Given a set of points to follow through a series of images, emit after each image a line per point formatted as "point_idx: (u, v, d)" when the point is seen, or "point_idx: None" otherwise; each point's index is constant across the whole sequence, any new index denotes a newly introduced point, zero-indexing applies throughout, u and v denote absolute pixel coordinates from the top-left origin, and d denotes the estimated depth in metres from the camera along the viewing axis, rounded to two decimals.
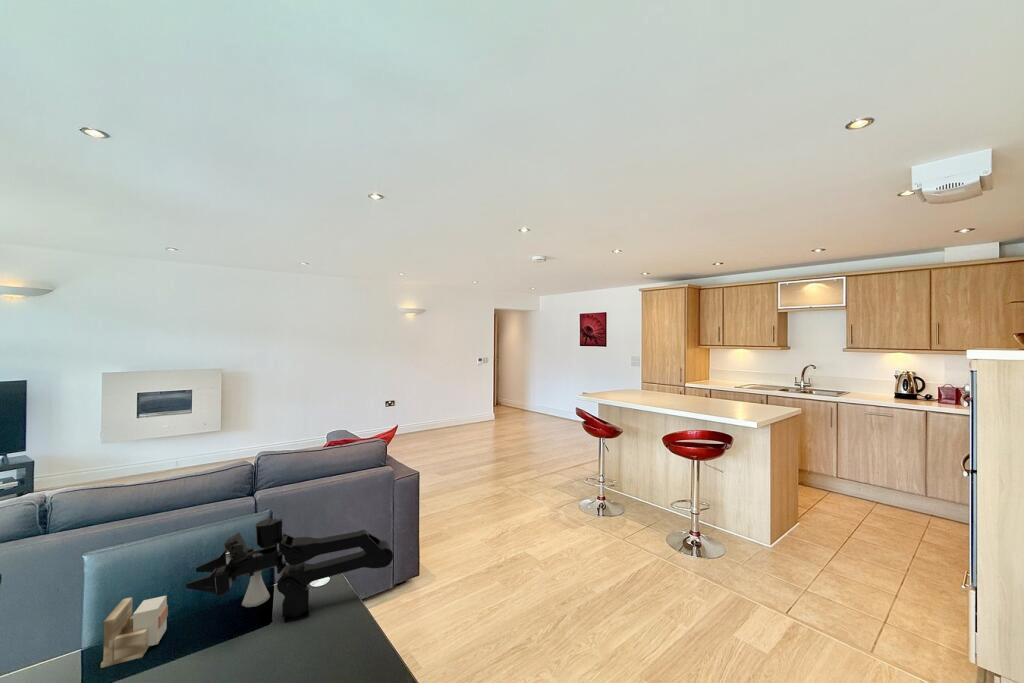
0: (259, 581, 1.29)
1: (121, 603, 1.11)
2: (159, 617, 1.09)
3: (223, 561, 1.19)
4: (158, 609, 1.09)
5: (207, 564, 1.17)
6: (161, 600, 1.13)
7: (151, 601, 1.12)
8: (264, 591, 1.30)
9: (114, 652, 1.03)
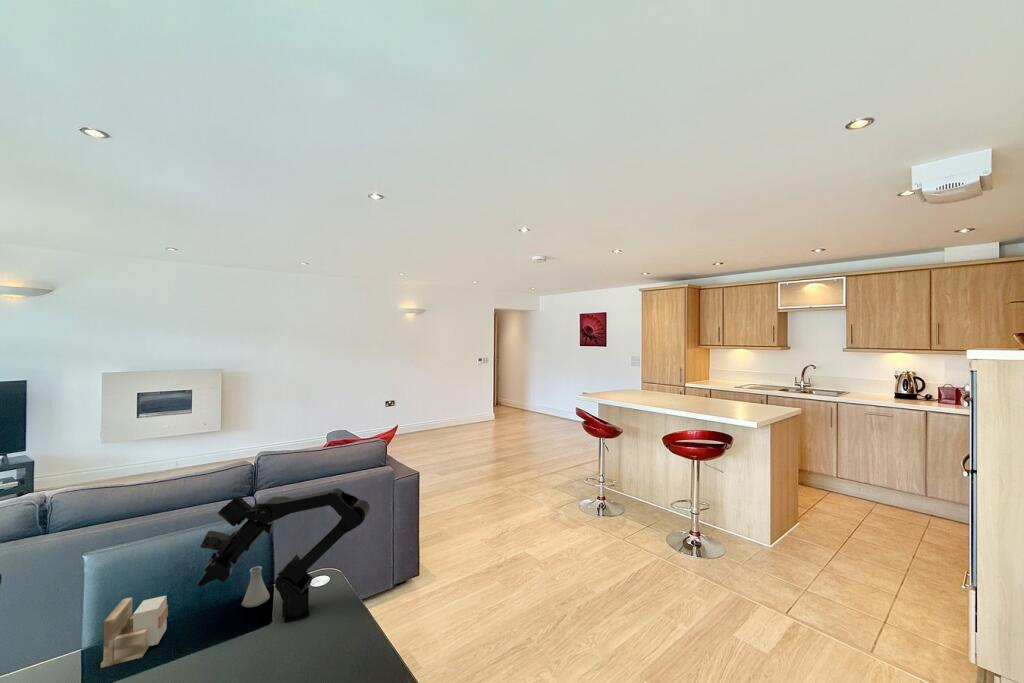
0: (259, 581, 1.29)
1: (121, 603, 1.11)
2: (159, 617, 1.09)
3: None
4: (158, 609, 1.09)
5: None
6: (161, 600, 1.13)
7: (151, 601, 1.12)
8: (264, 592, 1.30)
9: (114, 652, 1.03)
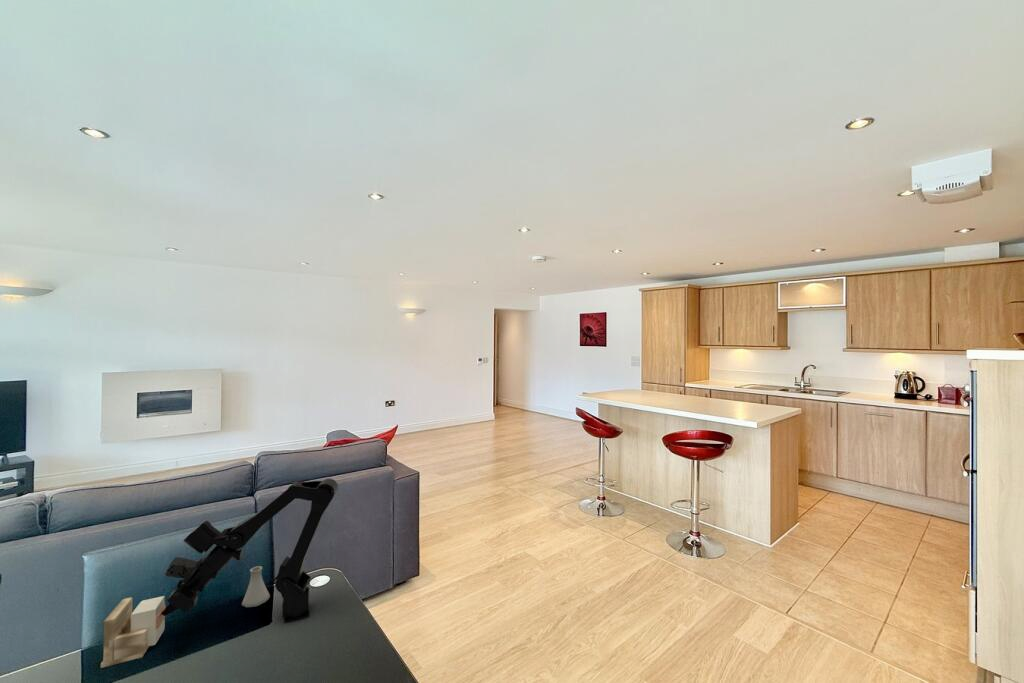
0: (259, 581, 1.29)
1: (121, 603, 1.11)
2: (157, 617, 1.09)
3: None
4: (156, 610, 1.09)
5: None
6: (159, 600, 1.12)
7: (149, 602, 1.12)
8: (264, 592, 1.30)
9: (114, 652, 1.03)
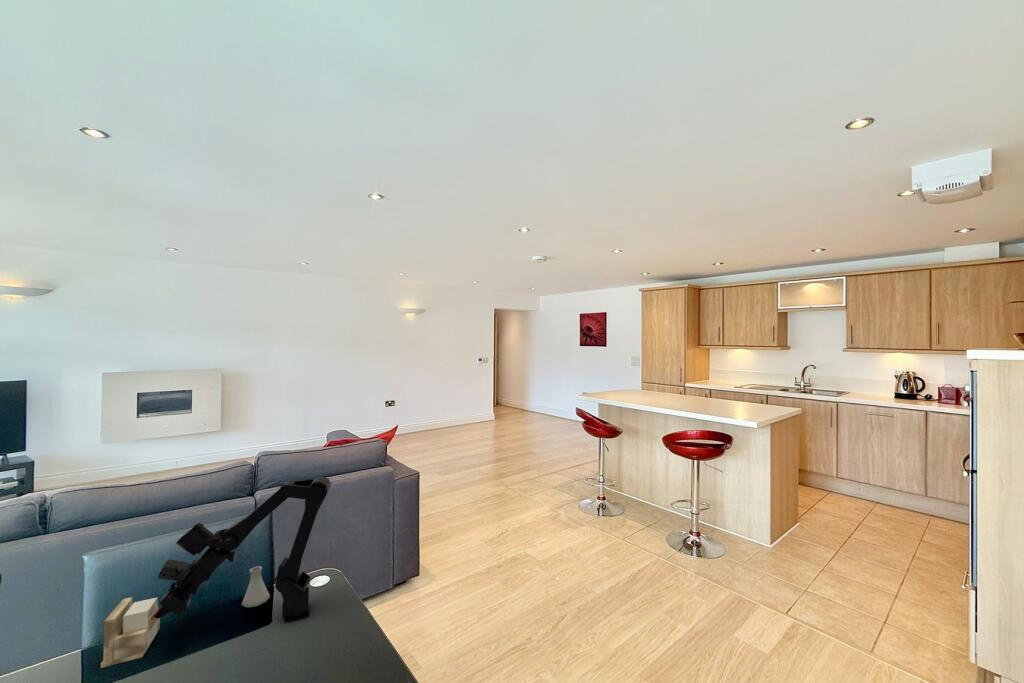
0: (259, 581, 1.29)
1: (121, 603, 1.11)
2: (149, 619, 1.08)
3: None
4: (148, 611, 1.08)
5: None
6: (152, 602, 1.12)
7: (141, 603, 1.11)
8: (264, 592, 1.30)
9: (114, 652, 1.03)
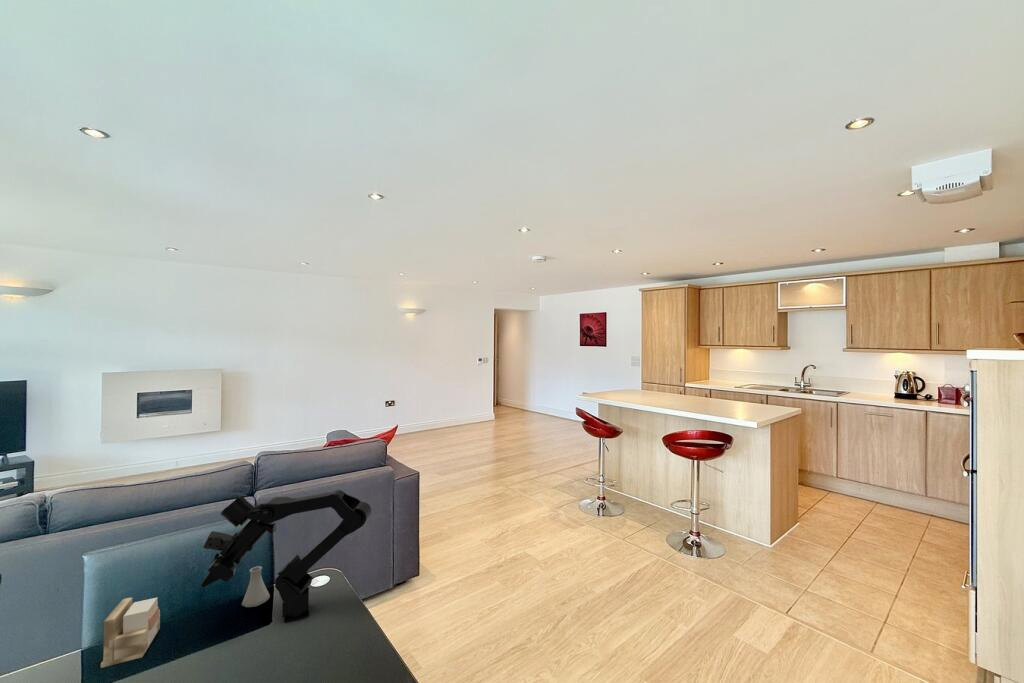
0: (259, 581, 1.29)
1: (121, 603, 1.11)
2: (149, 619, 1.08)
3: None
4: (148, 611, 1.08)
5: None
6: (152, 602, 1.12)
7: (141, 603, 1.11)
8: (264, 592, 1.30)
9: (114, 652, 1.03)
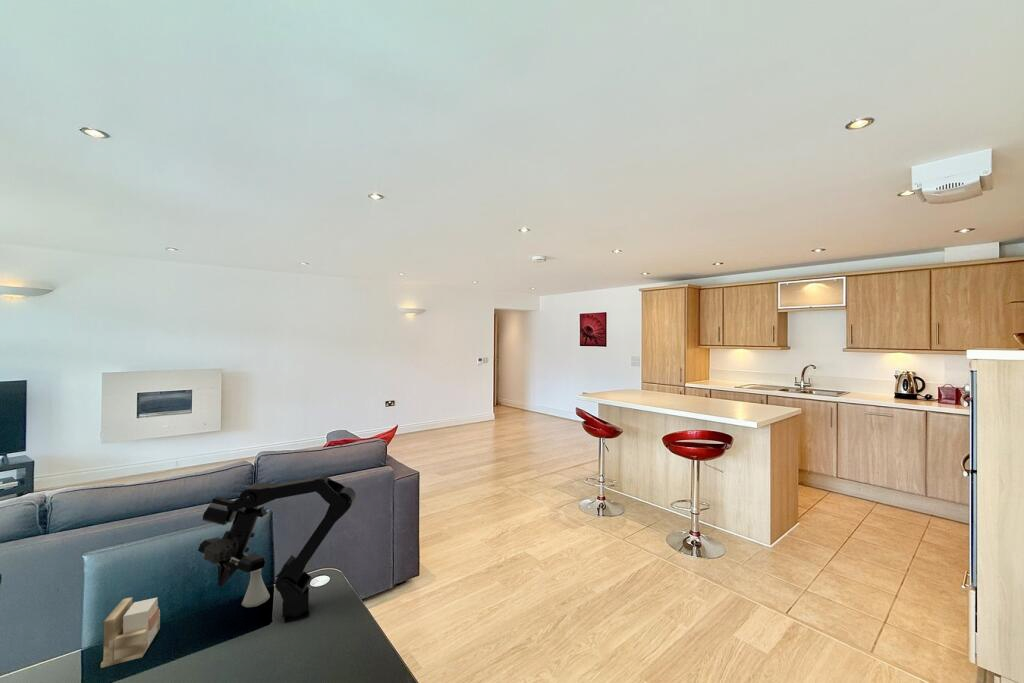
0: (259, 581, 1.29)
1: (121, 603, 1.11)
2: (149, 619, 1.08)
3: (226, 561, 1.18)
4: (148, 611, 1.08)
5: (221, 576, 1.17)
6: (152, 602, 1.12)
7: (141, 603, 1.11)
8: (264, 592, 1.29)
9: (114, 652, 1.03)
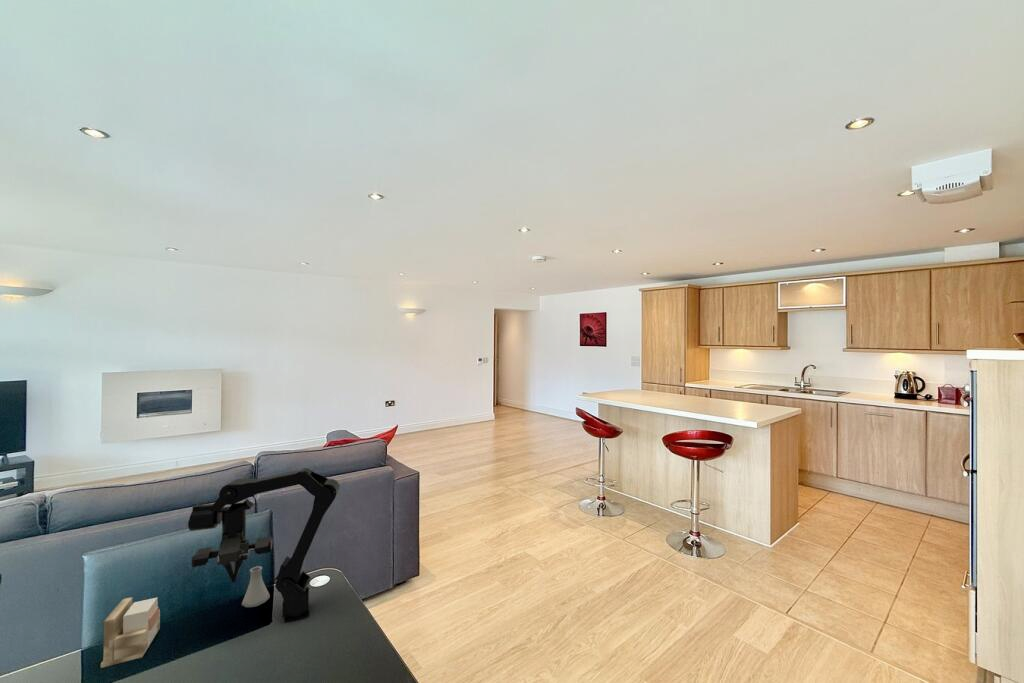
0: (259, 581, 1.29)
1: (121, 603, 1.11)
2: (149, 619, 1.08)
3: None
4: (148, 611, 1.08)
5: (232, 572, 1.18)
6: (152, 602, 1.12)
7: (141, 603, 1.11)
8: (264, 592, 1.29)
9: (114, 652, 1.03)
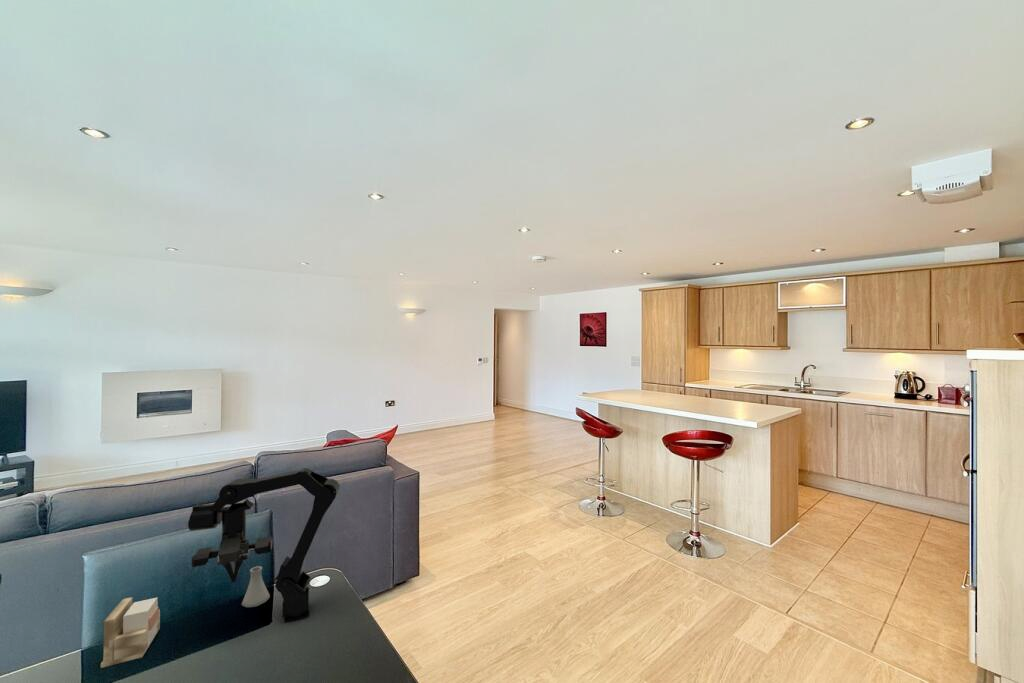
0: (259, 581, 1.29)
1: (121, 603, 1.11)
2: (149, 619, 1.08)
3: None
4: (148, 611, 1.08)
5: (232, 572, 1.18)
6: (152, 602, 1.12)
7: (141, 603, 1.11)
8: (264, 592, 1.29)
9: (114, 652, 1.03)
